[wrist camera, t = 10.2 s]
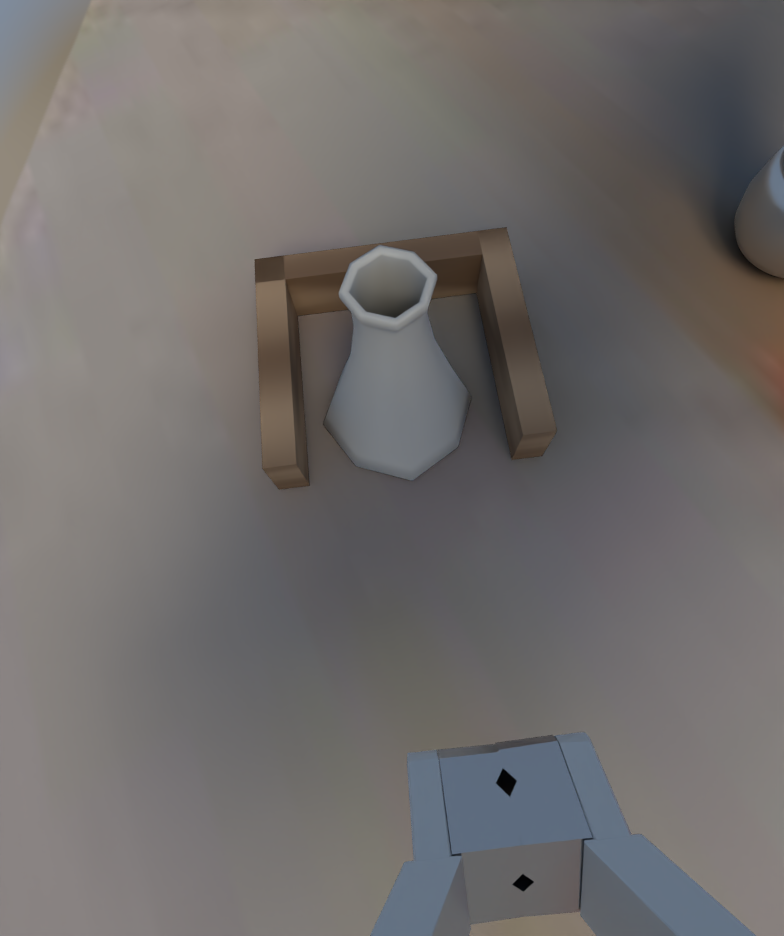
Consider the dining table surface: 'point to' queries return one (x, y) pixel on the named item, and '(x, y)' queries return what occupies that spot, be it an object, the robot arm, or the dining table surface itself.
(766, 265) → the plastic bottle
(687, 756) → the dining table surface
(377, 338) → the flask
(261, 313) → the walnut bay
